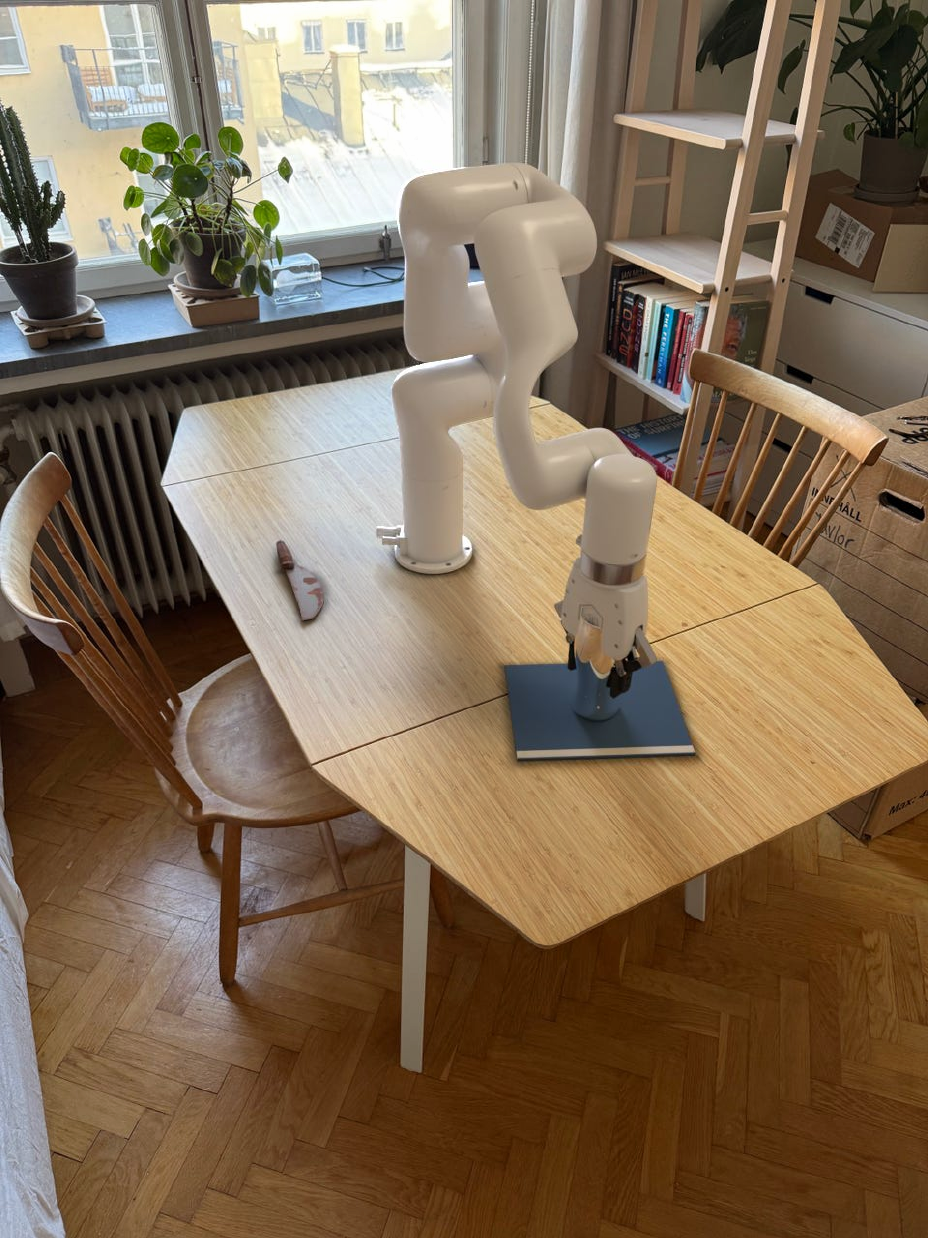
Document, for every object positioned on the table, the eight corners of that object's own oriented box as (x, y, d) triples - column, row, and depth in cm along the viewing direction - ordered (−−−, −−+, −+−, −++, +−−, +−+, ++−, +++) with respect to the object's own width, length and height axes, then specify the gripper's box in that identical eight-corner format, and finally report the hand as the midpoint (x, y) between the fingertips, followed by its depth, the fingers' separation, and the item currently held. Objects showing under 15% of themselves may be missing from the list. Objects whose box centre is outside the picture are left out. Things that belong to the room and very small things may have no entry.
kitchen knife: (333, 613, 136) (299, 616, 134) (332, 622, 137) (299, 625, 135) (305, 537, 151) (274, 538, 149) (304, 545, 152) (274, 547, 150)
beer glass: (563, 688, 122) (572, 596, 113) (615, 686, 123) (628, 594, 114) (573, 725, 117) (583, 631, 108) (627, 722, 117) (641, 628, 108)
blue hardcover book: (517, 761, 112) (517, 759, 112) (504, 667, 127) (504, 664, 127) (695, 755, 113) (695, 753, 113) (662, 662, 128) (663, 660, 128)
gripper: (536, 542, 110) (528, 659, 120) (650, 606, 99) (631, 728, 110) (578, 520, 114) (568, 635, 124) (693, 580, 103) (670, 700, 114)
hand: (598, 678), depth 117 cm, fingers closed on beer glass, 6 cm apart
